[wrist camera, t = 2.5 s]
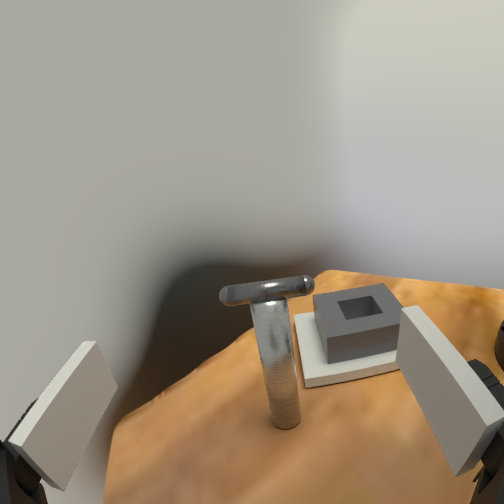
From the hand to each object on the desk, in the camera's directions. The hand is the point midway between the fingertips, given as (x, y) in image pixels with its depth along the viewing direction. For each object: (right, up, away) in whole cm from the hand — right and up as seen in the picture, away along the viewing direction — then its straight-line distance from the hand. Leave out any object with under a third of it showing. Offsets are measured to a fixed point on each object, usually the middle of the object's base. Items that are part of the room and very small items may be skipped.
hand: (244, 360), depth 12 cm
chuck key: (+4, -13, +17) cm, 22 cm away
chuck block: (+15, -8, +27) cm, 32 cm away
